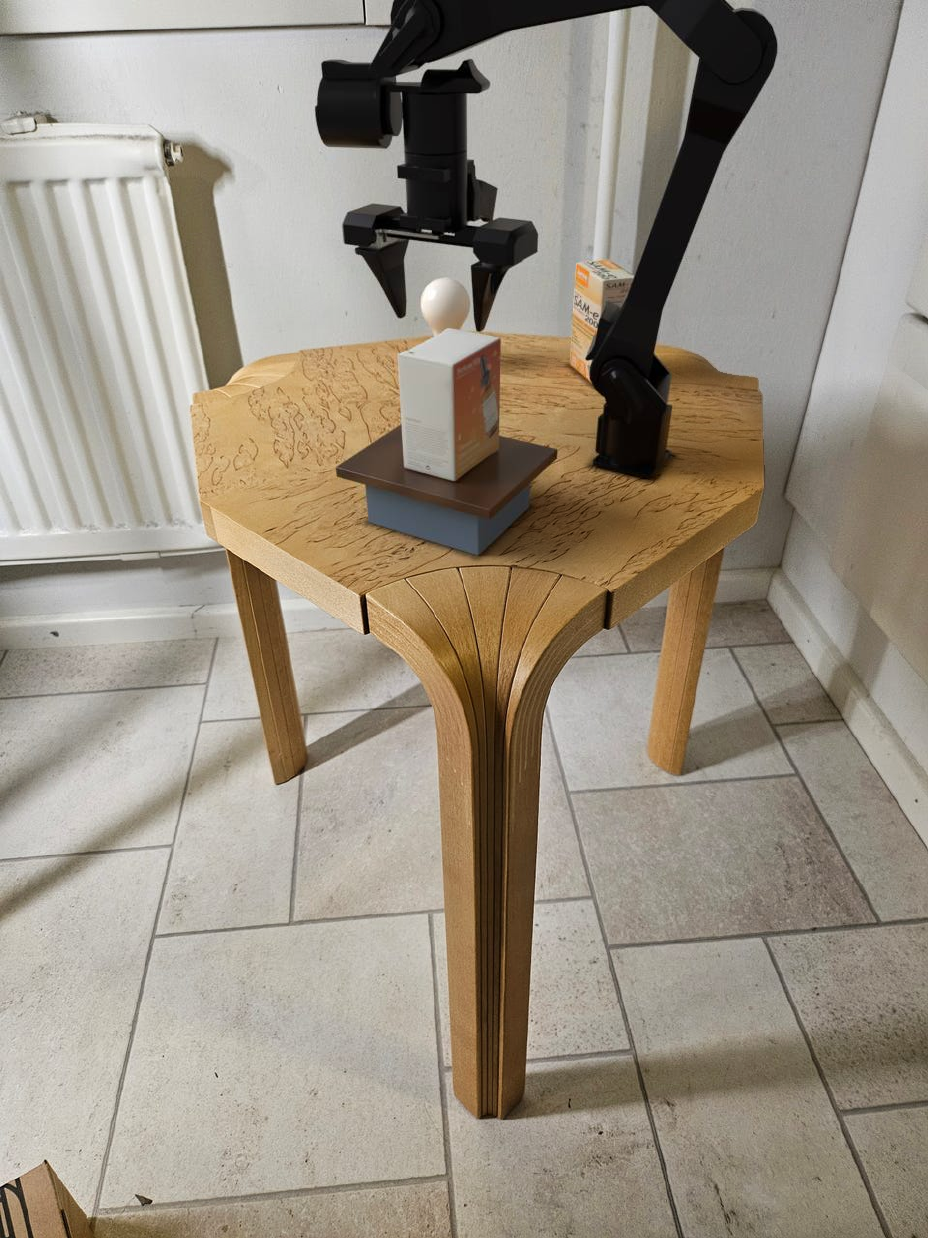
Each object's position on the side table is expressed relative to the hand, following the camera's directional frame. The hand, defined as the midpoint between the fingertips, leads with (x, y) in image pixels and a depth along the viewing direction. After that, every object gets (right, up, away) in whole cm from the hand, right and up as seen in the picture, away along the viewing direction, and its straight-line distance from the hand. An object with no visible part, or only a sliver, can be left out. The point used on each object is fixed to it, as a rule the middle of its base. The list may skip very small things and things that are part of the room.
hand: (440, 323), depth 87 cm
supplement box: (+20, +1, +23) cm, 31 cm away
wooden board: (+1, -16, -8) cm, 18 cm away
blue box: (+1, -20, -5) cm, 21 cm away
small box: (+1, -16, -9) cm, 18 cm away
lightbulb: (0, +4, +27) cm, 28 cm away
